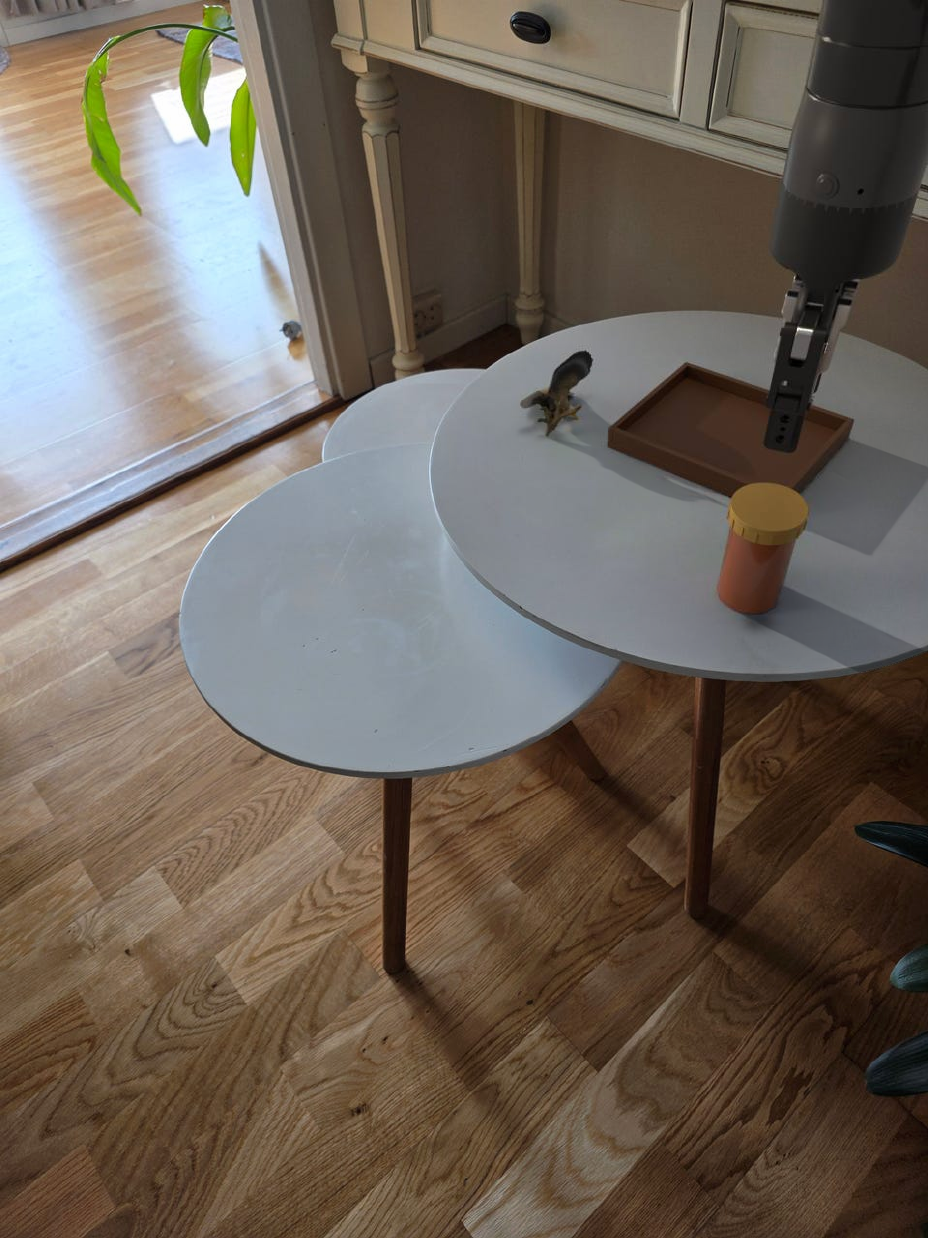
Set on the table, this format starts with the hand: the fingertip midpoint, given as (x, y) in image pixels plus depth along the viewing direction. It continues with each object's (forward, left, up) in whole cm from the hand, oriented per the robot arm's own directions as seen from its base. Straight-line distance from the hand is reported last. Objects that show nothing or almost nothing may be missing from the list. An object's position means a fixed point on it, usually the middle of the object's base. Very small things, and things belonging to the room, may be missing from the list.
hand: (790, 417), depth 62 cm
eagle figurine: (+29, -12, -18) cm, 36 cm away
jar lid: (0, 0, -9) cm, 9 cm away
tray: (+12, -18, -18) cm, 28 cm away
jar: (0, 0, -18) cm, 18 cm away
